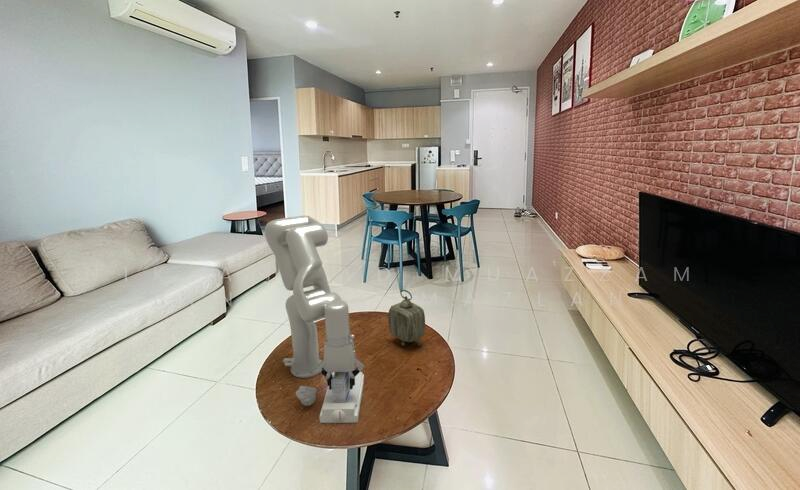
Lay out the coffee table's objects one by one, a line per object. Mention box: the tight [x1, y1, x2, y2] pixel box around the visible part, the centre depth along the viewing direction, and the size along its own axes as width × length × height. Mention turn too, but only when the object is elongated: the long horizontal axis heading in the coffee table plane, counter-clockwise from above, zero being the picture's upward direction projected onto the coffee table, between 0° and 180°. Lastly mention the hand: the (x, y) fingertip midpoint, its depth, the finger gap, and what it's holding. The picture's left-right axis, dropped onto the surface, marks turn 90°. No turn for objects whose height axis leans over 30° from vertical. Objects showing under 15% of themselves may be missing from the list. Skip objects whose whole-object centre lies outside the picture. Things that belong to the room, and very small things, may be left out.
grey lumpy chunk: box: [295, 385, 318, 407], centre depth 129 cm, size 6×7×7 cm
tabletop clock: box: [388, 289, 426, 347], centre depth 164 cm, size 14×9×25 cm, turn 42°
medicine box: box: [331, 372, 350, 403], centre depth 127 cm, size 8×4×9 cm, turn 174°
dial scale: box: [319, 371, 365, 424], centre depth 131 cm, size 12×22×5 cm, turn 0°
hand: (341, 386), depth 127 cm, fingers open, 6 cm apart
